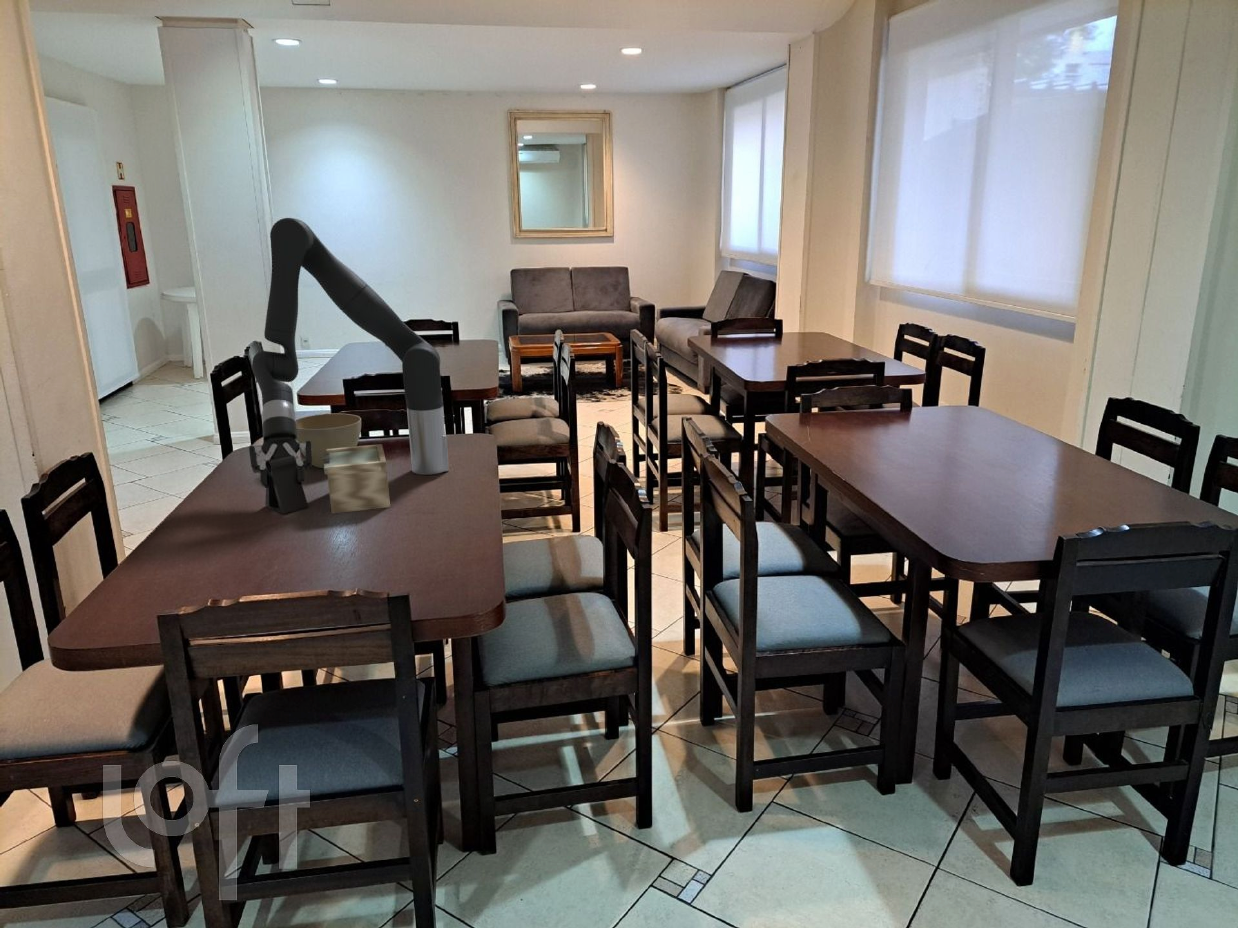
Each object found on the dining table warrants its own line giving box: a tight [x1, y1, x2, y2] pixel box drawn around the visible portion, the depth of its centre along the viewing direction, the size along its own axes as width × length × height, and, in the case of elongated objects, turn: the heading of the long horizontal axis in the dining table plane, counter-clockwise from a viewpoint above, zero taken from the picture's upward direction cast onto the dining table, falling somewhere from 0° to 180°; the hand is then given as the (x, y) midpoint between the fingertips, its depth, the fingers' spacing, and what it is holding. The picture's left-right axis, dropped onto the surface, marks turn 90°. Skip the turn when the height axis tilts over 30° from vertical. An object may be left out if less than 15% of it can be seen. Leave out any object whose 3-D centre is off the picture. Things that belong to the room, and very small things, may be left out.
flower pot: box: [296, 413, 362, 469], centre depth 231 cm, size 18×18×12 cm
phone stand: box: [264, 455, 309, 515], centre depth 198 cm, size 9×6×12 cm, turn 48°
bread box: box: [323, 443, 391, 514], centre depth 203 cm, size 14×16×12 cm
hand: (283, 484), depth 196 cm, fingers closed on phone stand, 6 cm apart
